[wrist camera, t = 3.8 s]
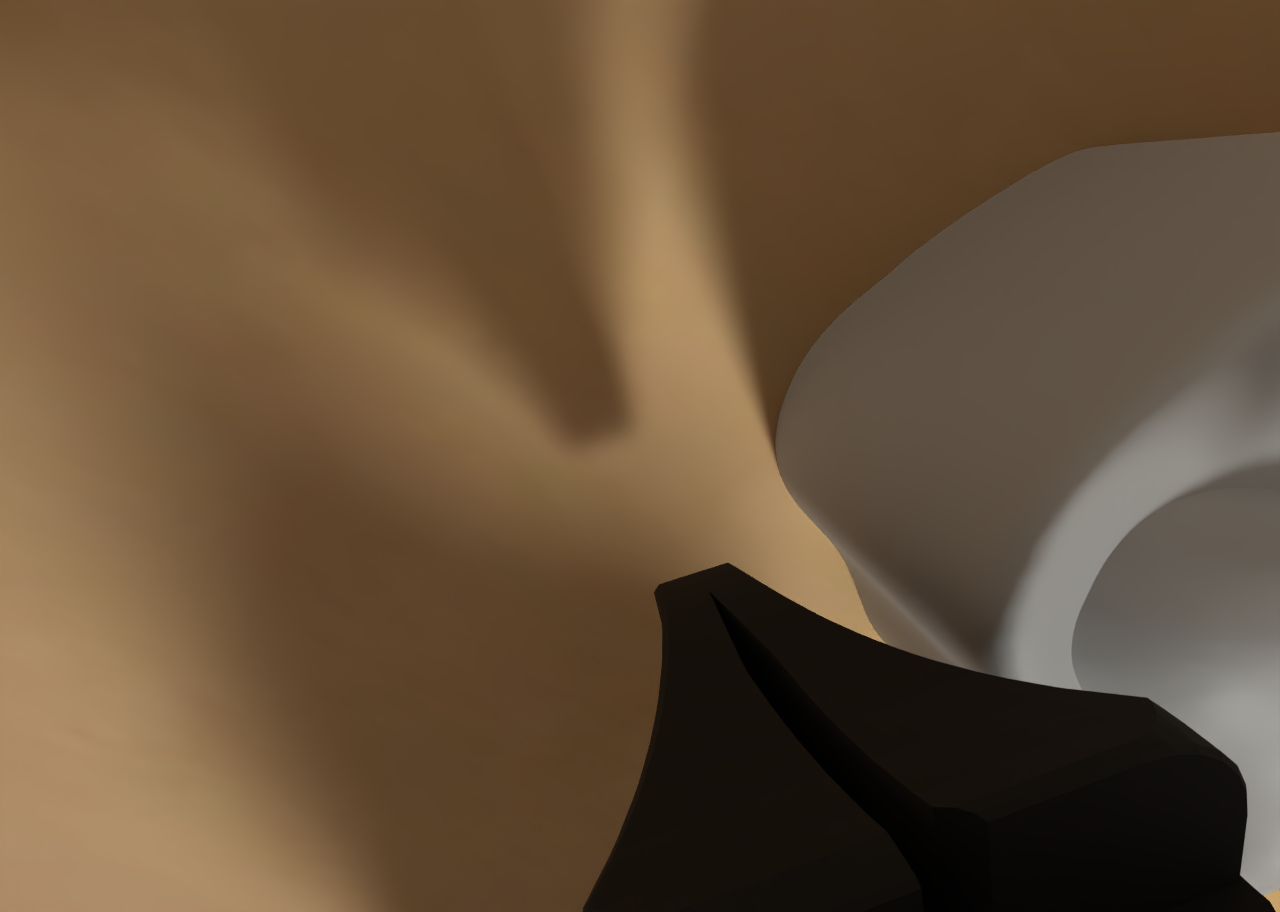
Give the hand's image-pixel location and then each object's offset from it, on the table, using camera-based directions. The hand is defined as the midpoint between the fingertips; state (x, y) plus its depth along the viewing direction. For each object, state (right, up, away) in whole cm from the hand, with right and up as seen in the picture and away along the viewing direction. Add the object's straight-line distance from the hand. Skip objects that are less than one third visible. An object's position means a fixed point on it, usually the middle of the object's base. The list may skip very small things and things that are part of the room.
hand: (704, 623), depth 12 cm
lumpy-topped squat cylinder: (+9, +4, +5) cm, 11 cm away
